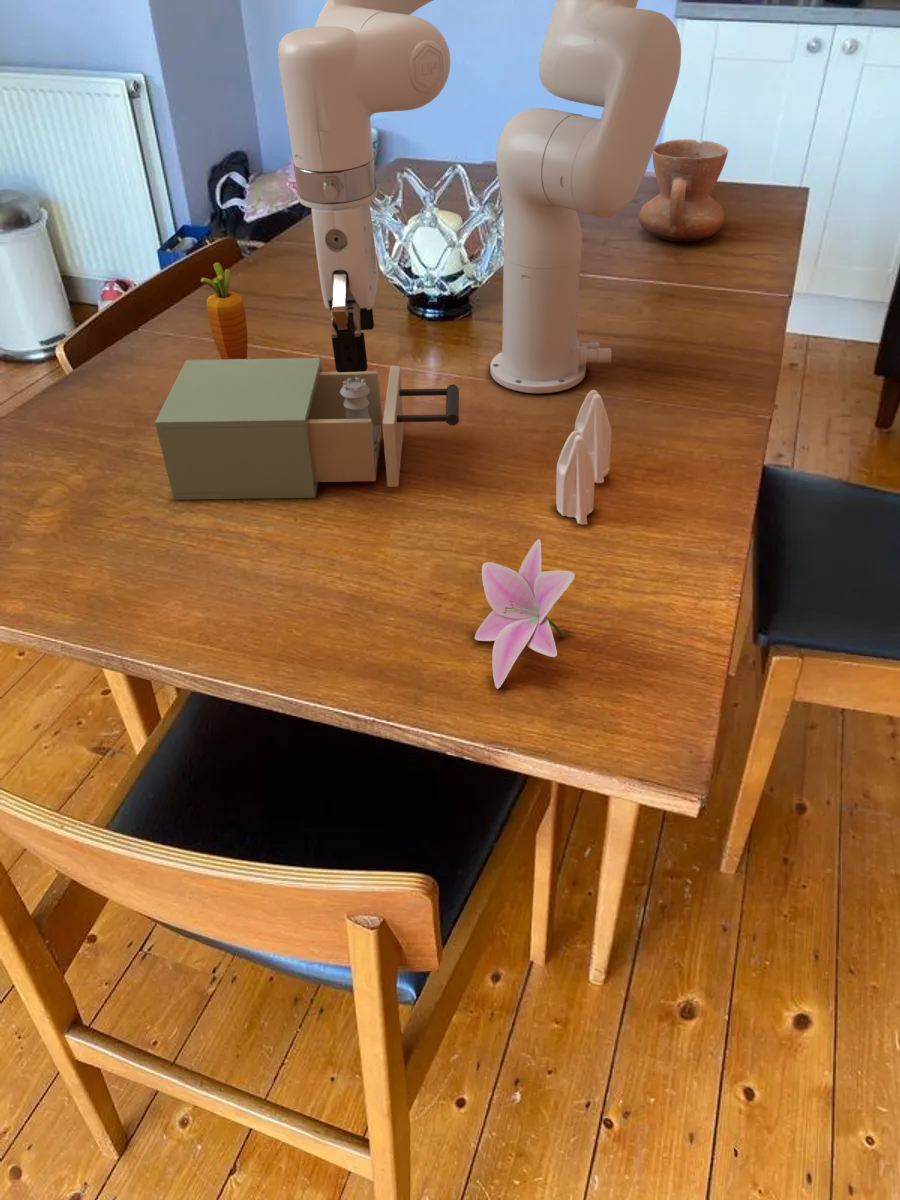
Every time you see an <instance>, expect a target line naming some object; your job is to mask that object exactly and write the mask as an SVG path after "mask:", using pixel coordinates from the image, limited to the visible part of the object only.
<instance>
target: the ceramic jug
mask: <svg viewBox="0 0 900 1200" xmlns="http://www.w3.org/2000/svg"><path fill="white" fill-rule="evenodd" d="M728 155H729V149H728V148H727V147H726V146H725V145H722V144H720V143H719V142H715V141H709V140H701V141H700V142H699V141H698V140H697V139H692V138H691V139H687V138H686V139H672V140H667V141H664V142H660V143H658V144H657V143H656V144H655V147H654V150H653V153H652V161H653V162H652V164H653V170H654V174H655V178H656V182H657V186H658V189H659V193H658V194H657V195H655V196H654V197H653V198H651V199H650V200H648V201H646V202H645V203H644V204H643V205H642V207H641V209H640V211H639V213H638V220H639V224H640V226H641V228H642V229H643V230H644V231H645V232H647V233H648V234H650V235H651V236H654V237H656V238H659V239H662V240H666V241H671V242H683V243H684V242H686V243H687V242H697V241H701V240H705V239H707V238H710V237H712V236H713V235H715V234H716V233H718V232H719V231H720V230H721V228H722V227H723V224H724V221H725V212H724V209H723V207H722V206H721V205H720V203H718V201H716V200H715V199H714V198H713V197H712V196H711V195H710V194H711V193H712V191H713V189H714V188H715V185H716V183H717V182H718V180H719V178H720V176H721V173H722V171H723V170H724V166H725V164H726V161H727V157H728Z"/></svg>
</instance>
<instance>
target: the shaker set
mask: <svg viewBox="0 0 900 1200" xmlns="http://www.w3.org/2000/svg"><path fill="white" fill-rule="evenodd" d="M573 429H574V430H573V431H572V432H570V434H569V435H568V436H567V439H566V440H565V443H564V444H563V447H562V449H561V451H560V454H559V456H558V459H557V462H556V474H555V475H556V476H555V477H556V478H555V504H556V505H555V506H556V510H557V512H558V513H559V514H560V515H561V516H562V517H565V516H566V517H567V518H575V520H576V523H577V524H578V525H581V526H584V525H588V518H587V516H588V515H589V514H591V513H592V512H593V511H594V503H595V502H594V501H595V483H596V484H603V483H604V482H605V477H606V476H608V473H609V472H610V470H611V465H610V462H611V449H612V447H611V446H612V427H611V423H610V420H609V417H608V413H607V410H606V406H605V404H604V401H603V398H602V396H601V394H599V392H598V391H597V390H595V389H591V390H589V392H588V393H587V394H586V396H585V398H584V400H583V402H582V404H581V406H580V408H579V411H578V413H577V416H576V417H575V422H574V428H573Z"/></svg>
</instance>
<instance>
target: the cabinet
mask: <svg viewBox="0 0 900 1200" xmlns="http://www.w3.org/2000/svg"><path fill="white" fill-rule="evenodd" d="M322 363H323V362H322V358H321V357H288V358H287V357H285V358H284V357H281V358H279V357H278V358H247V359H222V358H221V359H220V358H219V359H218V358H217V359H186V360H185V361H184V363H183V365H182V367H181V369H180V371H179V373H178V376H177V377H176V379H175V381H174V383H173V385H172V387H171V389H170V391H169V393H168V395H167V397H166V399H165V401H164V403H163V405H162V407H161V409H160V411H159V413H158V415H157V417H156V419H155V421H154V425H155V428H156V434H157V437H158V442H159V445H160V450H161V453H162V457H163V462H164V466H165V469H166V473H167V477H168V481H169V485H170V489H171V493H172V497H173V500H175V501H176V500H177V501H179V500H182V501H183V500H186V501H187V500H189V501H190V500H251V499H254V500H256V499H257V500H258V499H259V500H260V499H315V498H316V496H317V493H318V492H317V491H318V488H319V483H320V482H315V481H314V474H313V466H312V459H311V452H310V444H309V437H308V429H307V419H308V415H309V411H310V407H311V403H312V399H313V395H314V391H315V387H316V383H317V380H318V376H319V372H323V365H322Z"/></svg>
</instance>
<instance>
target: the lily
mask: <svg viewBox="0 0 900 1200" xmlns="http://www.w3.org/2000/svg"><path fill="white" fill-rule="evenodd" d="M575 577H576V574H575V572H573V571H572V570H571V571H570V570H558V569H557V570H548V571H542V542H541V538H538V539H537V540H535V542H533V544H532V546H531V547H530V548H529V550H528V551H527V553H526V555H525V557H524V559H523V561H522V563H521V564H520V567H519V569H518V572H517V571H516V570H514V569H511V568H510V567H507V566H505V565H502V564H498V563H495V562H491V561H487V562H484V563H483V564H482V566H481V579H482V585H483V586H482V587H483V591H484V594H485V598H486V600H487V602H488V604H489V606H490V608H491V610H492V611H491V612H489V614H488V615H487V616H486V617H485V618H484V620H483V621H482V622H481V624H480V626H479V627H478V628H477V630H476V632H475V634H474V640H475V641H479V642H493V641H494V642H493V645H492V655H491V661H492V662H491V664H492V665H491V666H492V667H491V668H492V676H493V677H492V678H493V681H494V682H493V683H494V687H495V689H497V690H498V689H500V688H501V686H502V685H503V684H504V682H505V680H506V679H507V676H508V675H509V673H510V671H511V670H512V668H513V666H514V664H515V662H516V661H517V659H518V657H519V656H520V655H521V653H522V651H523V650H524V649H525V647H526V646H527V647H528V648H529V649H531V650H533V651H534V652H536V653H539V654H541V655H544V656H547V657H552V658H555V657H557V656H558V651H557V647H556V646H557V645H556V642H555V638H554V635H553V631H552V628H553V629H554V630H555V631H556V632H557V633H558V634H559V636H560V637H561V638H564V637H565V634H564V633H563V631H562V630H561V629H560V627H558V626H557V625H556V624H555V622H553V621H552V620H551V619H550V618H548V613H549V612H550V611H551V610H552V608H553V606H554V605H555V604H556V603H557V601H558V600H559V599H560V597H562V596H563V594H564V593H565V592H566V590H567V589H568V588H569V587H570V585H571V584H572V582H573V581H574V579H575ZM551 626H552V627H551Z"/></svg>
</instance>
